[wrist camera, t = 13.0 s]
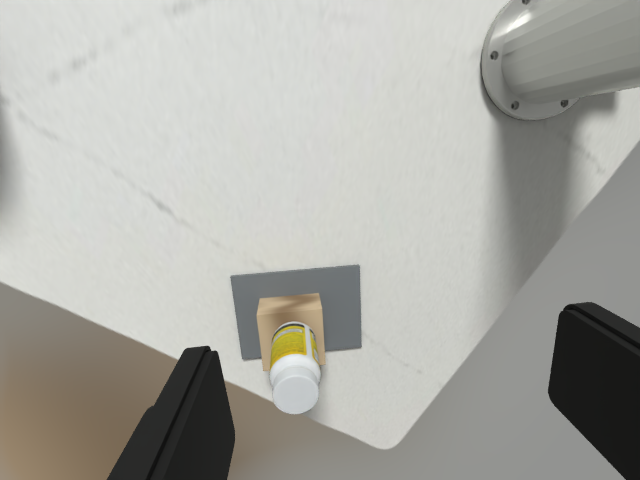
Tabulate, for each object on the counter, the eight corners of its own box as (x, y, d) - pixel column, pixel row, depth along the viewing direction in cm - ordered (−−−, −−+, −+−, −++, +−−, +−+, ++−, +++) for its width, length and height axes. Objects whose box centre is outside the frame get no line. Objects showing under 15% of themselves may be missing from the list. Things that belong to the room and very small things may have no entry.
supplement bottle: (263, 343, 35) (256, 401, 27) (289, 312, 35) (289, 362, 27) (298, 365, 37) (301, 426, 29) (324, 335, 36) (334, 389, 28)
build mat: (359, 264, 39) (359, 265, 38) (360, 345, 42) (361, 346, 41) (231, 275, 38) (230, 276, 37) (242, 357, 41) (242, 359, 40)
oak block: (318, 293, 39) (322, 308, 35) (322, 344, 41) (325, 364, 37) (259, 298, 38) (256, 315, 34) (265, 349, 40) (263, 371, 36)
